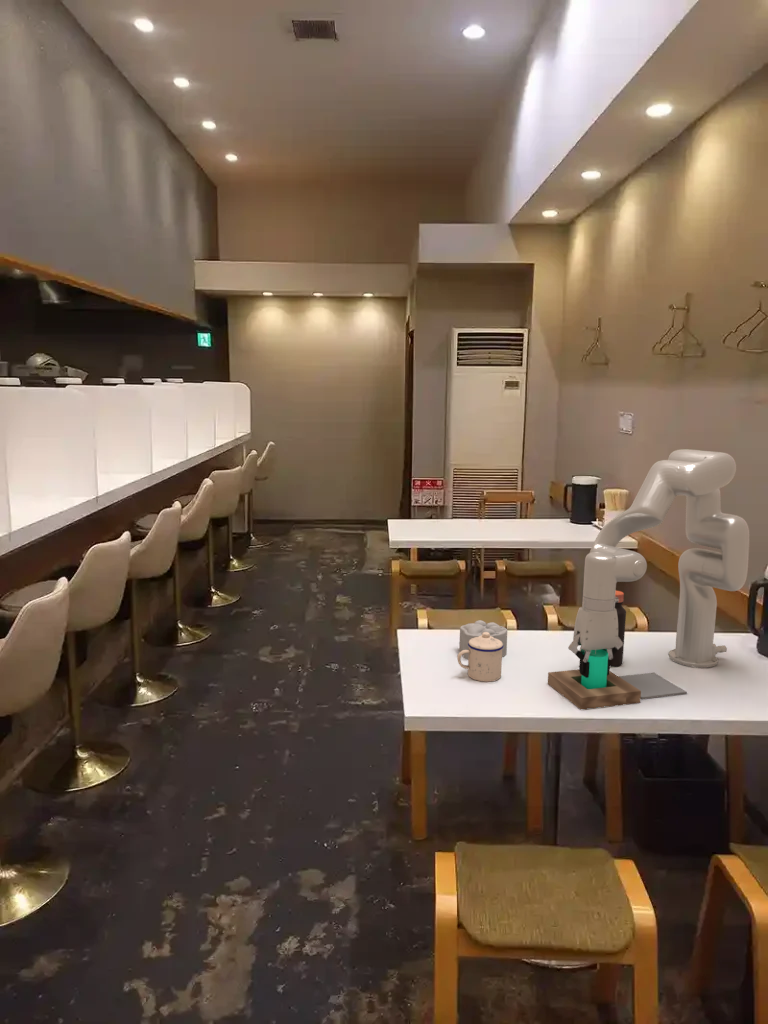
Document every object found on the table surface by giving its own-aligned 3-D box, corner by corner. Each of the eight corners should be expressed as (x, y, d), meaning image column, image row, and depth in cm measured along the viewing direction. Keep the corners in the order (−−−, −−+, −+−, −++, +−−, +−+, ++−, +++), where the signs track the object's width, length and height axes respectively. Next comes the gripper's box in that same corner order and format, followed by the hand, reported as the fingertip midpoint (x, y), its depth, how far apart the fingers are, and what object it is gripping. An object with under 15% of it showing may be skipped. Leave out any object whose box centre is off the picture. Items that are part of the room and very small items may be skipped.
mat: (653, 674, 193) (654, 672, 193) (686, 694, 180) (687, 691, 180) (610, 679, 189) (611, 677, 189) (641, 699, 177) (641, 697, 177)
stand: (602, 677, 190) (603, 666, 190) (640, 702, 175) (641, 690, 174) (547, 683, 186) (548, 672, 185) (581, 709, 171) (581, 697, 170)
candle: (606, 689, 182) (609, 643, 180) (605, 699, 177) (608, 652, 175) (581, 686, 184) (584, 640, 182) (579, 695, 179) (582, 648, 177)
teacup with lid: (494, 668, 196) (496, 626, 194) (507, 681, 187) (509, 637, 185) (452, 670, 193) (453, 628, 191) (462, 684, 184) (463, 640, 183)
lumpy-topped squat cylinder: (456, 648, 210) (457, 619, 209) (499, 646, 213) (500, 617, 211) (467, 661, 200) (468, 631, 199) (512, 659, 203) (513, 629, 201)
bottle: (610, 656, 205) (615, 588, 202) (627, 665, 199) (633, 594, 196) (591, 660, 202) (596, 590, 199) (608, 668, 196) (613, 597, 193)
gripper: (619, 596, 182) (615, 665, 186) (559, 601, 178) (555, 672, 181) (638, 605, 175) (633, 676, 178) (575, 610, 171) (571, 683, 174)
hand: (594, 673), depth 180 cm, fingers closed on candle, 4 cm apart
